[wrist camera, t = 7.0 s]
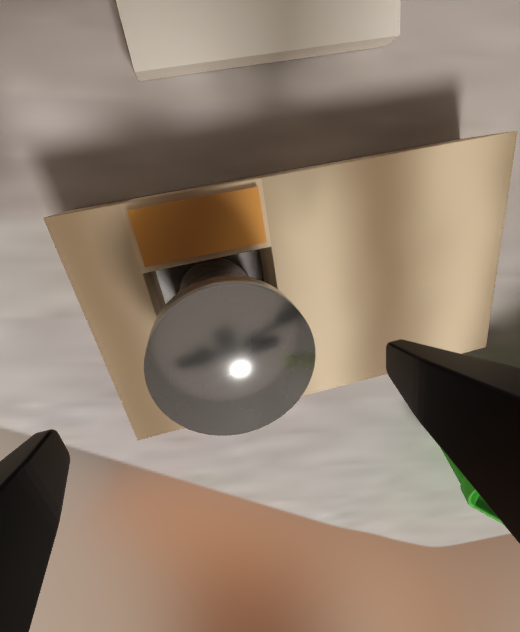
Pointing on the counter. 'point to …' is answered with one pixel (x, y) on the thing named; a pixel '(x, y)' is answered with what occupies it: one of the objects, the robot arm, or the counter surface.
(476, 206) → the rail plate
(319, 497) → the counter surface
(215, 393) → the peg
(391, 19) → the tab
